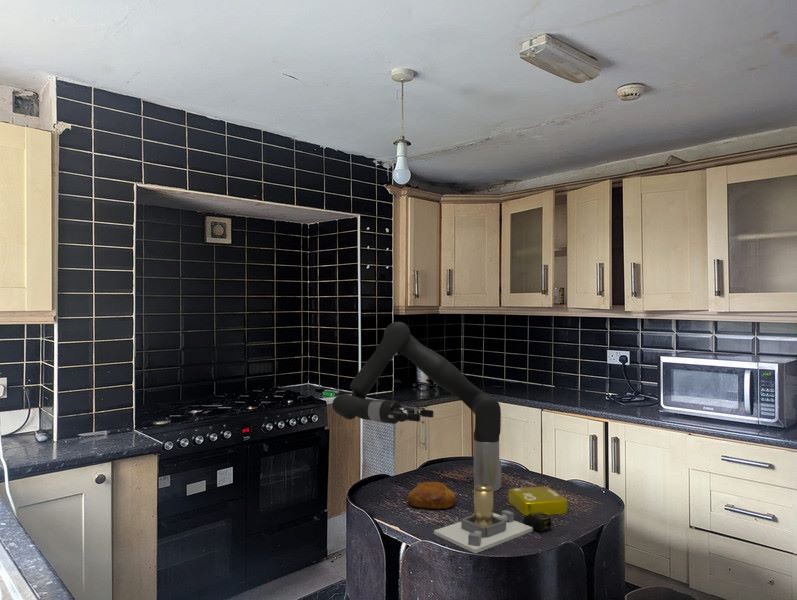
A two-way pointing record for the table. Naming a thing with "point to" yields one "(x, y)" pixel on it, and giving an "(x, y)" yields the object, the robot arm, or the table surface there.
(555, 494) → the element tile
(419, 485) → the croissant
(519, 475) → the table surface
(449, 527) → the cradle
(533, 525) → the tape measure
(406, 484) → the table surface
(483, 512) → the golden brown cylinder
